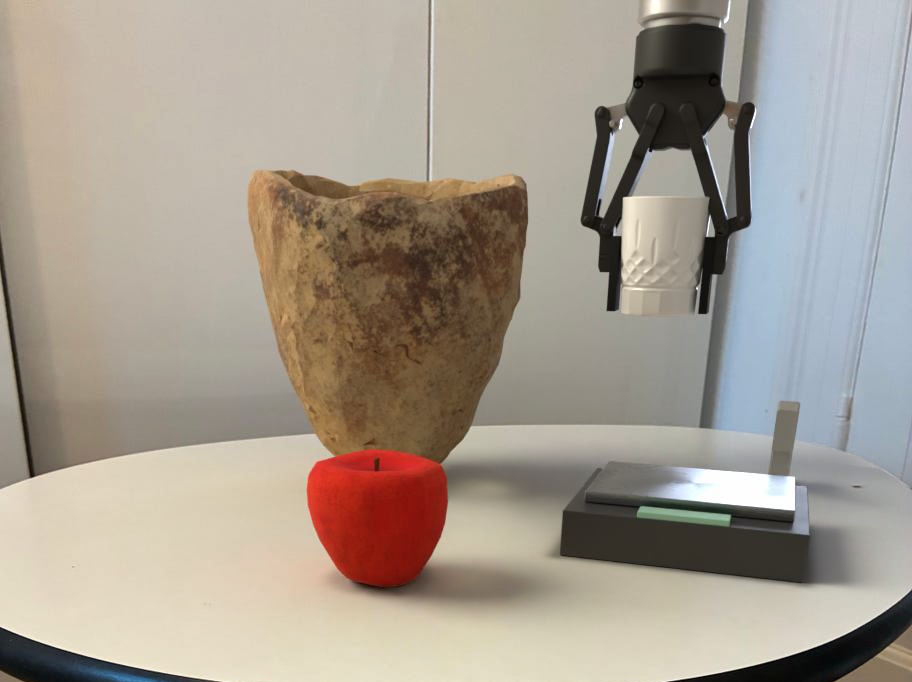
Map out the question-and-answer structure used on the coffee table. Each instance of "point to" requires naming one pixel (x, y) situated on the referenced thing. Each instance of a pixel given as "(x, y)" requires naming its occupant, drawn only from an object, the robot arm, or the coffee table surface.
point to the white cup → (662, 254)
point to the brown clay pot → (389, 300)
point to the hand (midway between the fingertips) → (657, 311)
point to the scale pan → (695, 490)
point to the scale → (688, 538)
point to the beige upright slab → (784, 438)
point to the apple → (378, 513)
